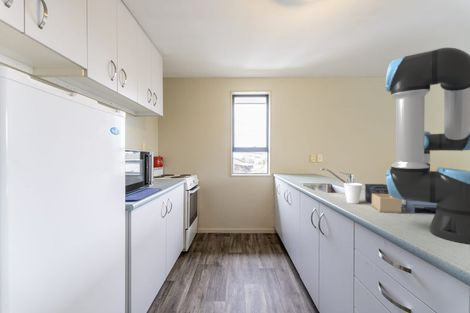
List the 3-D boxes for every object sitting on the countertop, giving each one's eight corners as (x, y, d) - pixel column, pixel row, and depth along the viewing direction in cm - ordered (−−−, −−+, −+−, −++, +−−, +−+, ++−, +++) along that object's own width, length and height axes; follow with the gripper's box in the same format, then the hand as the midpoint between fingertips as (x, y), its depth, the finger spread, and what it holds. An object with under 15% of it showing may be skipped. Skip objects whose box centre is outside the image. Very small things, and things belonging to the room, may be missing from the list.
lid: (442, 215, 106) (442, 205, 106) (412, 213, 109) (412, 203, 109) (425, 208, 119) (425, 199, 119) (399, 206, 122) (399, 198, 122)
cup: (366, 204, 127) (366, 184, 127) (351, 205, 124) (352, 185, 124) (353, 200, 137) (353, 182, 136) (339, 201, 134) (339, 183, 134)
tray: (401, 213, 108) (401, 198, 108) (380, 212, 110) (380, 197, 110) (390, 207, 120) (391, 194, 120) (371, 206, 122) (371, 193, 122)
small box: (383, 201, 136) (383, 183, 136) (389, 203, 129) (389, 185, 129) (364, 200, 137) (364, 183, 137) (369, 203, 130) (370, 184, 130)
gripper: (445, 162, 114) (444, 204, 115) (388, 162, 120) (388, 201, 121) (455, 163, 107) (454, 208, 107) (395, 162, 113) (394, 205, 113)
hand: (419, 204), depth 114 cm, fingers open, 13 cm apart
